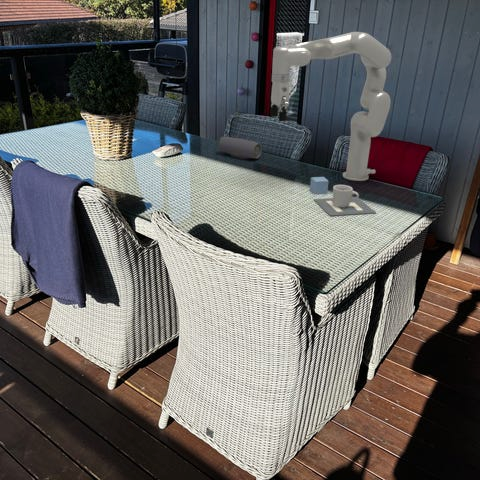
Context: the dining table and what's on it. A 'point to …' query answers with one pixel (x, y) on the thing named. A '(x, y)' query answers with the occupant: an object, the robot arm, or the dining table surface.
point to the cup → (343, 195)
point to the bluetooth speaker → (240, 147)
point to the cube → (319, 185)
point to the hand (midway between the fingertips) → (278, 118)
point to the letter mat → (351, 209)
